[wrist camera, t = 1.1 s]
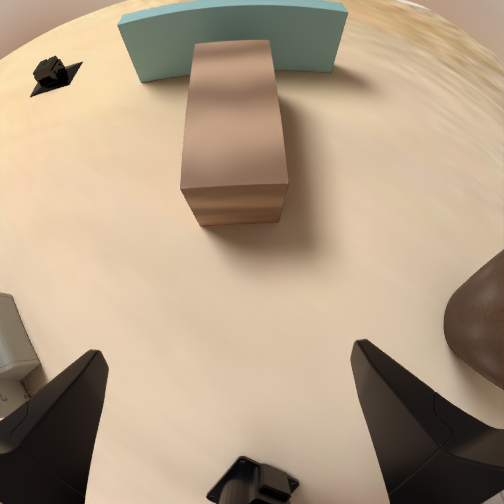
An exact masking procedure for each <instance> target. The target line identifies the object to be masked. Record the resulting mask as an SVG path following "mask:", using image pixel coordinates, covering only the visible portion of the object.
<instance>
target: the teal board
mask: <svg viewBox="0 0 504 504" xmlns="http://www.w3.org/2000/svg"><path fill="white" fill-rule="evenodd" d="M347 15H348V11H347V10H346V8H345V7H344V5H343V3H339V2H332V1H324V0H196V1H188V2H181V3H175V4H169V5H164V6H159V7H154V8H149V9H145V10H141V11H137V12H133V13H129V14H125V15H123V16H122V18H121V19H120V21H119V23H118V25H117V26H118V28H119V31H120V33H121V36H122V38H123V41H124V43H125V45H126V48H127V50H128V53H129V55H130V58H131V60H132V62H133V65H134V67H135V70H136V72H137V74H138V77H139V79H140V81H141V83H142V82H147V81H153V80H158V79H164V78H171V77H178V76H185V75H191V68H192V61H193V54H194V48H195V44H200V43H209V42H221V41H238V40H269V42H270V48H271V54H272V60H273V67H274V70H291V71H312V72H326V73H331V71H332V68H333V64H334V61H335V57H336V54H337V50H338V47H339V43H340V40H341V36H342V33H343V29H344V26H345V22H346V18H347Z"/></svg>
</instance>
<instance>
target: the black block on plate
mask: <svg viewBox="0 0 504 504" xmlns="http://www.w3.org/2000/svg"><path fill="white" fill-rule="evenodd" d="M82 63H83V62H80V63H76V64H73V65H70V66H67V67H65V66H64V65H63V63H62V62H61V60H60V59H58V58H57V57H56V56H54V57H51V58H49V59H48V60H47V59H46V60H43V61H41V62H40V63H39V65H38V66H37V68H36V69H35V71H34V72H33V75H34V76H35V77H34V78H35V79H36V81H37V82H38V83H37V85H36V87H35V88H34V90H33V92H32V94H31V96H30V97H33V96H35V95H38V94H41V93H44V92H48V91H51V90H54V89H57V88H61V87H64V86H68V85H70V83H71V81H72V80H73V78H74V76H75V74H76V73H77V71H78V69H79V68H80V66H81V64H82Z"/></svg>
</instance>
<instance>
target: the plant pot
mask: <svg viewBox="0 0 504 504" xmlns="http://www.w3.org/2000/svg"><path fill="white" fill-rule="evenodd" d="M444 332H445V337H446V340H447V343H448V345H449V346H450V348H451V349H452V350H453V351H454V352H455V353H456V354H457V355H458V356H459V357H460V358H461V359H462V360H464V361H465V362H466V363H467V364H468V365H469V366H471V367H472V368H473V369H474V370H475V371H477V372H478V373H479V374H481V375H482V376H483V377H485V378H486V379H488V380H489V381H491V382H492V383H494V384H495V385H497V386H498V387H500V388H502V389H503V390H504V250H502V251H501V252H500V253H498V254H497V255H496V256H495V257H493V258H492V259H491V260H490V261H489V262H487V263H486V264H485V265H484V266H483V267H481V268H480V269H479V270H478V271H477V272H476V273H475V274H473V275H472V276H471V277H470V278H469V279H468V280H467V281H466V282H465V283H464V284H463V285H462V286H461V287H459V288H458V289H457V290H456V291H455V293H454V294H453V295H452V296H451V298H450V300H449V302H448V304H447V307H446V310H445V315H444Z"/></svg>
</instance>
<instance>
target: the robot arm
mask: <svg viewBox="0 0 504 504" xmlns="http://www.w3.org/2000/svg"><path fill="white" fill-rule="evenodd" d="M351 366H352V370H353V375H354V379H355V384H356V389H357V394H358V398H359V402H360V405H361V408H362V411H363V414H364V417H365V420H366V423H367V426H368V429H369V432H370V436H371V439H372V442H373V445H374V448H375V452H376V455H377V458H378V462H379V465H380V468H381V472H382V475H383V479H384V482H385V486H386V489H387V493H388V497H389V501H390V504H504V429H497V428H493V427H490V426H488V425H486V424H485V423H483V422H481V421H479V420H478V419H476V418H474V417H473V416H471V415H469V414H468V413H466V412H464V411H463V410H461V409H460V408H458V407H456V406H455V405H453V404H452V403H450V402H449V401H448V400H446V399H445V398H443V397H442V396H441V395H440V394H438V393H437V392H435V391H434V390H433V389H432V388H430V387H429V386H428V385H426V384H425V383H424V382H422V381H421V380H420V379H418V378H417V377H416V376H414V375H413V374H412V373H411V372H409V371H408V370H407V369H405V368H404V367H403V366H401V365H400V364H399V363H397V362H396V361H395V360H393V359H392V358H391V357H390V356H388V355H387V354H386V353H384V352H383V351H382V350H380V349H379V348H378V347H376V346H375V345H374V344H372V343H371V342H370V341H369V340H367V339H361V340H356V341H355V342H354V345H353V350H352V354H351ZM108 371H109V368H108V364H107V362H106V360H105V358H104V356H103V354H102V352H101V351H100V350H93V349H91V350H89V351H87V352H86V353H85V354H84V355H82V356H81V357H80V358H79V359H77V360H76V361H75V362H74V363H72V364H71V365H70V366H69V367H67V368H66V369H65V370H64V371H62V372H61V373H60V374H59V375H57V376H56V377H55V378H54V379H53V380H51V381H50V382H49V383H48V384H46V385H45V386H44V387H43V388H42V389H40V390H39V391H38V392H37V393H35V394H34V395H33V396H32V397H31V398H29V400H27V401H26V402H25V403H23V404H22V405H21V406H20V407H18V408H17V409H16V410H15V411H13V412H12V413H11V414H9V415H8V416H7V417H5V418H4V419H2V420H1V421H0V504H85V496H86V489H87V483H88V476H89V470H90V465H91V459H92V454H93V449H94V444H95V439H96V435H97V430H98V426H99V421H100V417H101V413H102V409H103V404H104V398H105V391H106V384H107V378H108ZM241 460H244V461H245V462H243V463H242V462H240V461H241ZM292 483H296V484H294V485H291V484H292ZM298 486H299V482H298V480H297V479H294V478H292V477H289V476H287V475H286V473H284V472H282V471H280V470H277V469H275V468H273V467H270V466H268V465H266V464H260V463H257V462H255V461H253V460H251V459H249V458H247V457H245V456H240V457H238V458H237V460H236V461H235V462H234V463H233V464H232V466H231V467H230V468H229V469H228V470H227V471H226V473H225V474H224V475H223V476H222V477H221V478H220V480H219V481H218V482H217V483H216V484H215V485H214V486H213V488H212V489H211V490H210V491H209V492H208V493H207V496H206V498H207V499H208V500H210V501H212V502H214V503H216V504H291V503H290V498H291V494H292V493H293V492H294V490H295V489H296V488H297V487H298ZM210 496H214V497H210Z"/></svg>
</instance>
